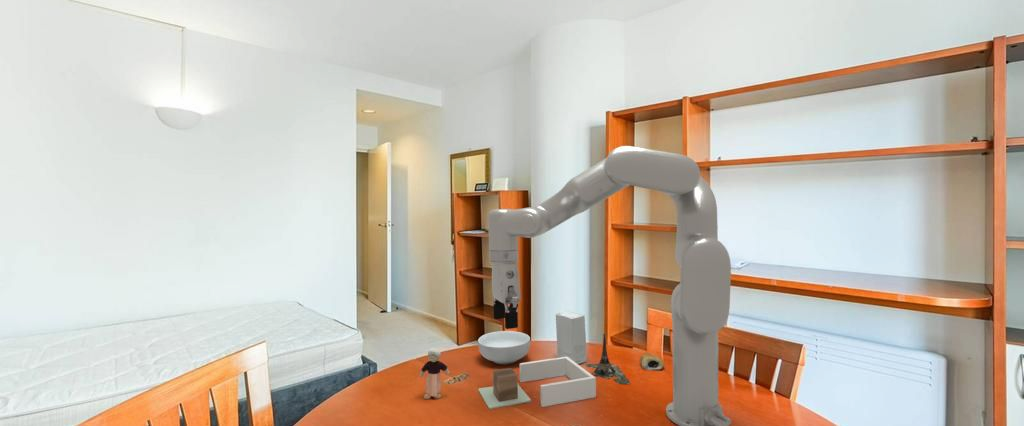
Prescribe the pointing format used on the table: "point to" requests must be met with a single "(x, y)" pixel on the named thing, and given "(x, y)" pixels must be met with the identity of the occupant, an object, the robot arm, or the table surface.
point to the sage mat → (494, 403)
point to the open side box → (563, 391)
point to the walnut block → (505, 384)
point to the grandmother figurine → (433, 374)
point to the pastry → (651, 362)
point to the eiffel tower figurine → (608, 368)
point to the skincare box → (571, 336)
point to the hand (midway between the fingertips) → (505, 323)
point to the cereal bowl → (504, 346)
